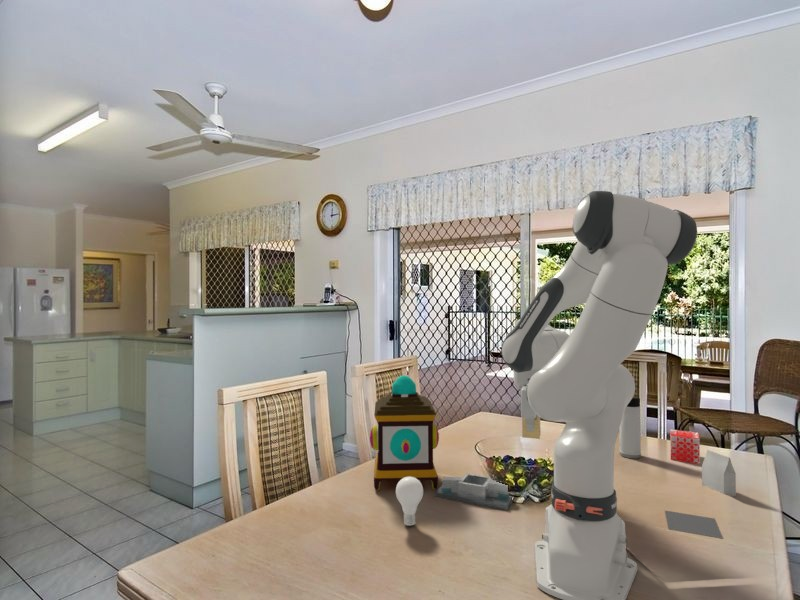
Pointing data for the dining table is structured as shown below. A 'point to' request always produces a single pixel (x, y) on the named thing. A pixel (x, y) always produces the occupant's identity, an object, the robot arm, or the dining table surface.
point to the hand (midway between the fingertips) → (531, 427)
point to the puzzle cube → (685, 446)
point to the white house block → (719, 473)
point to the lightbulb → (409, 497)
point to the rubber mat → (693, 524)
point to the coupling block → (531, 433)
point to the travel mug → (630, 431)
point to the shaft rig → (475, 491)
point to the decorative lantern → (404, 435)
